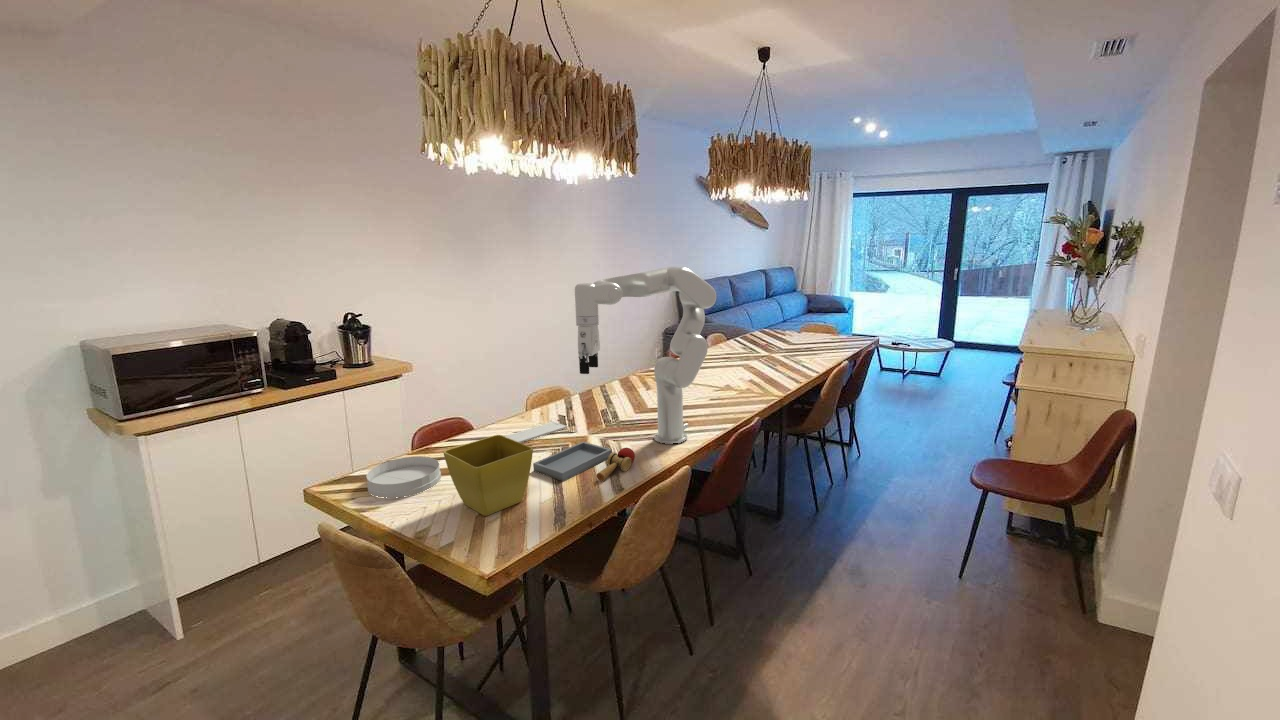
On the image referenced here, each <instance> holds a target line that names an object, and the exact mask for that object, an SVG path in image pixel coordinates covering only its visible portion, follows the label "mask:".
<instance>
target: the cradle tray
mask: <svg viewBox="0 0 1280 720" xmlns="http://www.w3.org/2000/svg"><path fill="white" fill-rule="evenodd" d="M611 453H613V450H612V449H611V448H608V447H604V446H601V445H597V444H593V443H590V442H586V441H580V442H579V443H576V444H574V445H572V446H569V447H567V448H565V449H563V450H561V451H558V452H555V453H554V454H551V455H549V456H547V457H545V458H542V459H540V460H537V461H535V462H533V463H532V465H533V472H535V471H536V472H535V473H538V472H539V473H538V474H540V473H541V474H540V475H543V474H544V476H547V477H549V478H552V479H555V480H558V481H560V482H565V481H567V480H569V479H571V478H573V477H575V476H577V475H579V474H581V473H583V472H585V471H586V470H589V469H591V468H593V467H594V466H597V465H600V464H601V463H604V462H605V461H608V457H609V455H610V454H611Z"/></svg>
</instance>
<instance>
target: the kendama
mask: <svg viewBox="0 0 1280 720" xmlns="http://www.w3.org/2000/svg"><path fill="white" fill-rule="evenodd" d="M635 458H636V454H635V452H634V450H633V449H632V448H630V447H623V448H620V449H619V451H618V452H617V453H616V452H612V453H611V454H610V455H609V457H608V459H607V465H608V466H606V467H605V468H604V469H602V470H601V471H599V472H598V473H596V478H597V479H598V481H599V480H600V481H599V482H604V481H605V480H606V479H607V478H608V476H610V475H611V474H612V472H613V471H615V469H616V468H618V466H619V467H620V470H621V471H623V472H625V471H626V472H627V470H628V471H629V470H630V469H631V466H632V464H633V463H634V462H635Z"/></svg>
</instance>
